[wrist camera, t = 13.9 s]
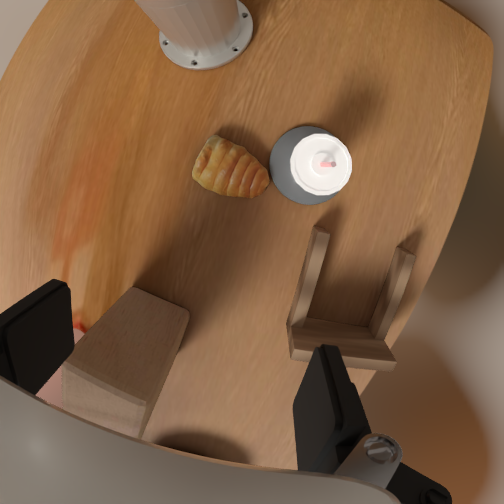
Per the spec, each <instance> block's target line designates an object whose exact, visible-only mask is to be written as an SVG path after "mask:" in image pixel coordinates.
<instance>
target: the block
mask: <svg viewBox="0 0 504 504" xmlns="http://www.w3.org/2000/svg"><path fill="white" fill-rule="evenodd" d="M189 318H190V316H189V311H188V310H186V309H184V308H182V307H180V306H177V305H175V304H173V303H170V302H168V301H165V300H163V299H161V298H159V297H156V296H154V295H152V294H149V293H147V292H145V291H143V290H140V289H138V288H135V287H131V288H129V289H128V290H127V291H126V292H125V293H124V294H123V295H122V296H121V297H120V298H119V299H118V300H117V301H116V302H115V304H114V305H113V306H112V307H111V308H110V309H109V310H108V311H107V312H106V313H105V314H104V315H103V316H102V317H101V318H100V319H99V320H98V321H97V322H96V323H95V324H94V325H93V326H92V327H91V328H90V329H89V330H88V331H87V332H86V333H85V335H84V336H83V337H82V338H81V339H80V340H79V341H78V342H77V343H76V344H75V347H74V350H73V352H72V354H71V355H70V356H69V357H68V358H67V359H66V360H65V361H64V363H63V364H62V404H63V410H66V411H68V412H70V413H72V414H74V415H77V416H79V417H81V418H84V419H86V420H88V421H91V422H93V423H96V424H98V425H101V426H103V427H106V428H109V429H111V430H114V431H117V432H119V433H122V434H125V435H128V436H131V437H134V438H137V439H140V440H141V438H142V435H143V433H144V430H145V428H146V426H147V423H148V421H149V418H150V416H151V414H152V411H153V409H154V406H155V404H156V402H157V399H158V397H159V395H160V392H161V390H162V388H163V385H164V383H165V381H166V378H167V376H168V374H169V371H170V369H171V367H172V364H173V362H174V360H175V357H176V355H177V352H178V349H179V346H180V343H181V340H182V338H183V335H184V332H185V329H186V327H187V324H188V321H189Z"/></svg>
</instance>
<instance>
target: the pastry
mask: <svg viewBox="0 0 504 504" xmlns="http://www.w3.org/2000/svg"><path fill="white" fill-rule="evenodd" d="M192 178H193V179H194V180H195V181H197V182H199V184H200V185H201V186H202V187H204V188H205V189H207V190H211V191H213V192H216V193H218V194H220V195H226V196H234V197H245V198H253V197H256V196H258V195H261V194H262V193H263V192H264V191H265V189H266V187H267V186H268V184H269V182H270V181H269V176H268V172H267V169H266V168H265V167H264V166H262V165H261V164H260V163H259V161H258V160H257V159H256V158H255V157H254V156H253V155H251V154H250V153H248V152H247V150H246V149H245V148H244V147H243V146H239V145H236V144H234V143H232V142H230V141H229V140H227V139H223V138H220V137H219V136H218V135H213V136H211V137H210V138H209V139H208V140H207V142H206V144H205V145H204V147H203V149H202V150H201V152H200V154H199V155H198V157H197V159H196V163H195V165H194V168H193V171H192Z"/></svg>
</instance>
